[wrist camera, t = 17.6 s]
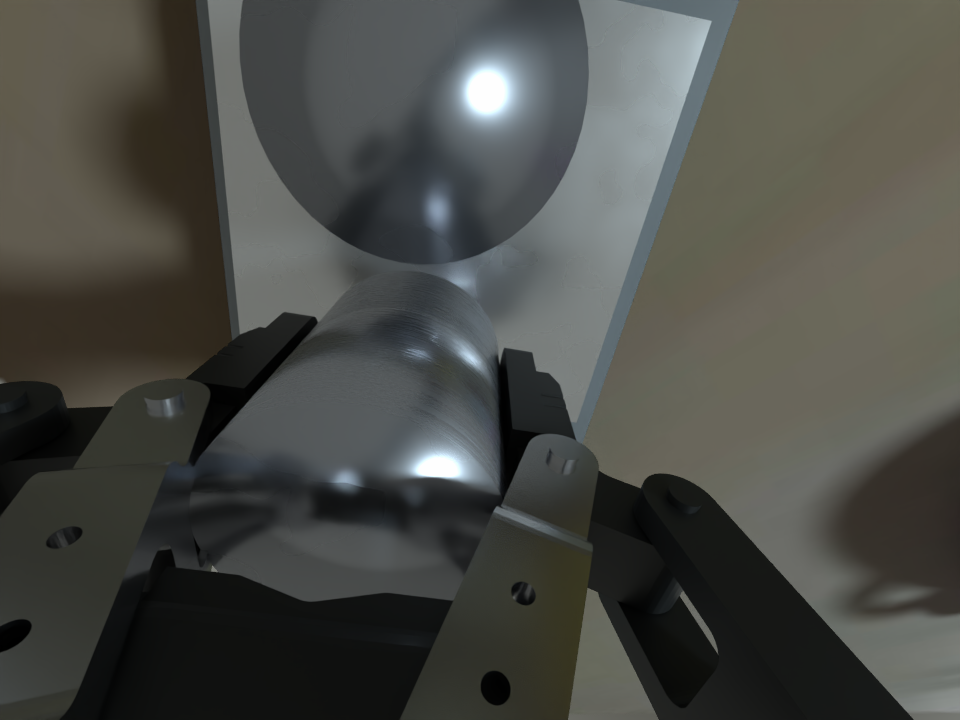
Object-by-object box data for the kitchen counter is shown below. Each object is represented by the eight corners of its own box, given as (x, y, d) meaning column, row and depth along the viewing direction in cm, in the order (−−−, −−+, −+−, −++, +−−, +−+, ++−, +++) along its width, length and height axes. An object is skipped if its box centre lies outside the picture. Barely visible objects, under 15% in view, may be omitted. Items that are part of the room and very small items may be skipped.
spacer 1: (560, 19, 10) (638, -101, 5) (518, 222, 13) (542, 286, 7) (361, -24, 10) (221, -199, 5) (354, 192, 12) (253, 237, 7)
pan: (693, 29, 11) (711, 20, 10) (571, 407, 17) (576, 422, 16) (223, -73, 10) (198, -92, 10) (257, 359, 16) (243, 372, 15)
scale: (692, 20, 14) (754, -15, 11) (544, 483, 23) (553, 539, 20) (244, -78, 13) (163, -149, 10) (276, 446, 22) (241, 499, 19)
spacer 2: (515, 288, 11) (544, 434, 6) (482, 437, 13) (480, 645, 8) (323, 255, 11) (159, 378, 5) (322, 414, 13) (206, 614, 7)
